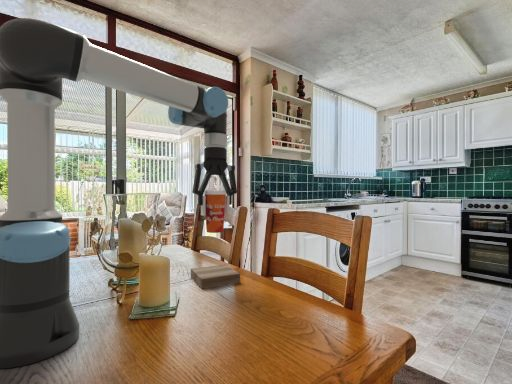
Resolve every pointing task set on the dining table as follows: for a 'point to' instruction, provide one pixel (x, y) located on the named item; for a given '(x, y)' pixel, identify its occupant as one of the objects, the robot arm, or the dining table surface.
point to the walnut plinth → (215, 276)
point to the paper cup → (215, 210)
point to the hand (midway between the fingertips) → (215, 214)
